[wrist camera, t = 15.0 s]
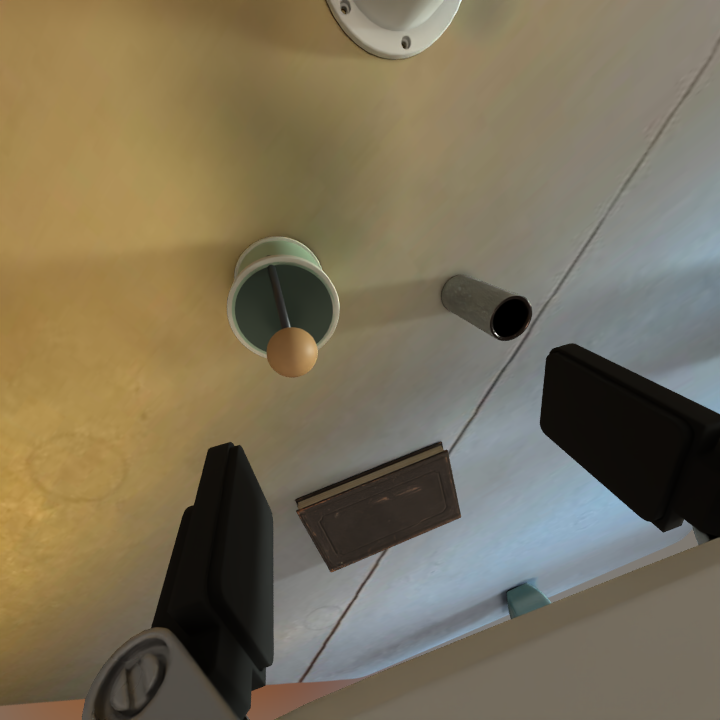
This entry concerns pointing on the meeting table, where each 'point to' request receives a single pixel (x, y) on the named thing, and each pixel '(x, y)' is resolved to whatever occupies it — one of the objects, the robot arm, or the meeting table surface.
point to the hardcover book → (381, 507)
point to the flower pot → (525, 600)
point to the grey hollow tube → (487, 307)
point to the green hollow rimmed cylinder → (282, 304)
